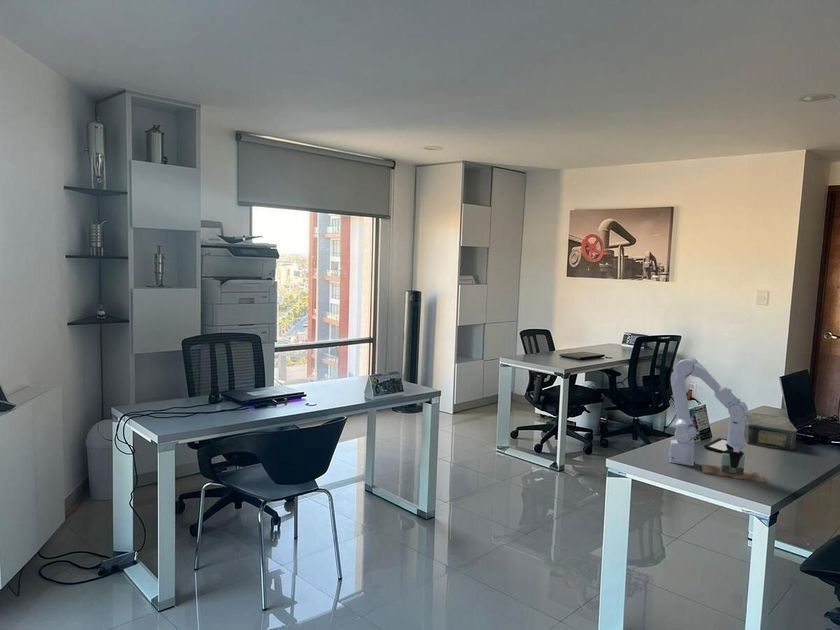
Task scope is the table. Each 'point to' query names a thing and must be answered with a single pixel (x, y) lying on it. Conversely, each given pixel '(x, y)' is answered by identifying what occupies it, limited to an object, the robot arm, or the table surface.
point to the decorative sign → (718, 446)
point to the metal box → (769, 431)
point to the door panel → (726, 462)
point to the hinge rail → (739, 473)
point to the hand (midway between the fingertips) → (732, 465)
